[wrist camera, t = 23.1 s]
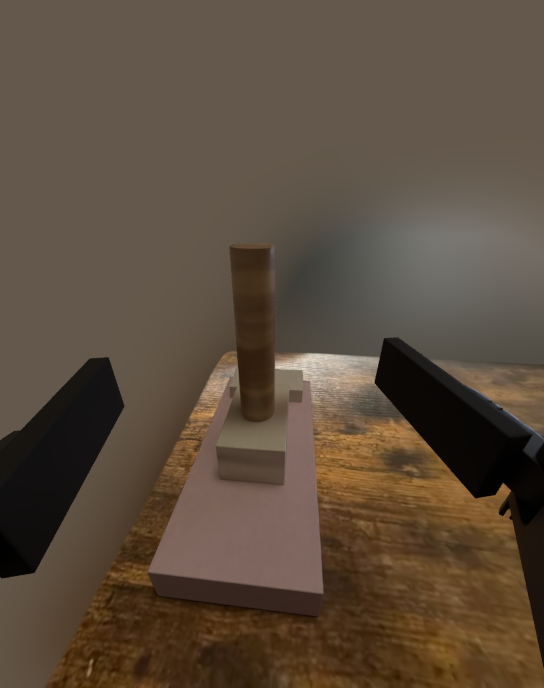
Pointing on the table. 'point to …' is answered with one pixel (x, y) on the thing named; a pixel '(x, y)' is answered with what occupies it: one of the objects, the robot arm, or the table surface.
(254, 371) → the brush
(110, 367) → the robot arm
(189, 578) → the bed
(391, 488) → the table surface
